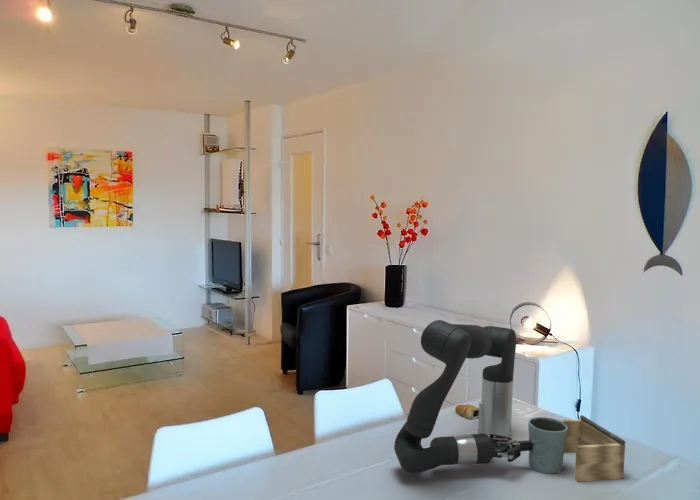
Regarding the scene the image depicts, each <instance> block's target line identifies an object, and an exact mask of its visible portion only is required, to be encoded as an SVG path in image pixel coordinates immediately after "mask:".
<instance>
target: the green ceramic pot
mask: <svg viewBox="0 0 700 500" xmlns="http://www.w3.org/2000/svg"><path fill="white" fill-rule="evenodd" d="M567 431H568V426H567V425H566V424H565V423H563V422H562V421H559V419H556V418H553V417H552V418H551V417H546V416H545V417H544V416H536V417H532V418H530V419H528V441H530V442H531V443H532V444H533V449H532V450H531V451H528V465H529V467H530V468H531V469H532V470H534V471H537V472H539V473H542V474H547V475H548V474H551V475H552V474H553V475H554V474H559V473H561V472H562V470H563V464H564V454H565V452H564V448H565V443H566V438H567Z"/></svg>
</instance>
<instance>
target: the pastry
mask: <svg viewBox="0 0 700 500" xmlns="http://www.w3.org/2000/svg"><path fill="white" fill-rule="evenodd" d="M454 409H455V411H456V413H457V414H458V415H459V416H461V417H462V418H464V419H466V420H469V421H471V420H476V419H479V407H477V406H475V405H471V404H458V405H456V406H455V408H454Z"/></svg>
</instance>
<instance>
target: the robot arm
mask: <svg viewBox="0 0 700 500" xmlns="http://www.w3.org/2000/svg"><path fill="white" fill-rule="evenodd" d="M420 346H421V348H422V350H423V351H424V353H426V354H427V355H429V356H431V357H433V358H434V359H436V360H438V361H440V362H441V363H443V364H445V367H444V369H443V371H442V372H441V374H440V375H439V377H438V378H436V379H435V380H434V381H433V382H432V383H429V384H428V385H427V386H426V387H425V388H423V389H422V390H421V391H419V392H418V394H417V395H416V396H415V397H414V399H413V401H412V403H411V406H410V409H409V413H408V414H407V418H406V421H405V423H404V424H403V425H402V427H401V429H399V432H398V433H397V435H396V437H395V440H394V446H393V448H394V452H395V456H396V457H397V460H398V463H399V465H400V467H401V468H402V470H403V471H405V472H407V473H410V474H421V473H425V472H427V471H430V470H433V469H436V468H438V467H441V466H451V465H452V466H453V465H454V466H456V465H459V466H467V465H468V466H470V465H484V464H489V463H491V461H492V460H493V458H495V459H496V458H497V459H501V458H503V457H504V458H506V459H507V462H509V463H512V462H514V461H516V459H518V458H519V457H521V455H522V452H529V451H531V450H532V449H533V444H532V443H531V442H530V441H529V440H518V439H517V440H516V439H513V438H512V437H510V436H511V434H512V416H513V415H512V414H513V389H514V374H515V373H514V372H515V360H516V359H515V358H516V349H517V334H516V332H515V329H513V328H510V327H509V328H508V327H500V326H493V325H490V326H489V325H488V326H480V325H476V324H458V323H456V324H454V323H449V322H447V321H444V320H442V319H436V320H433V321H432V322H430V323H429V324H428V325H427V326H426V327H425V328H424V329H423V331H422V334H421V336H420ZM485 356H487V357H494V358H500V359H501V360H500V362H499V363H498V364H494V365H488V366H485V367H484V368H483V369H482V377H481V378H482V380H481V381H482V382H481V401H479V405H478V408H479V418H478V425H477V426H478V427H477V429H478V431H477V432H478V433H468V434H458V435H457V434H456V435H453V436H452V435H451V436H438V437H434V438H433V439H431V440H430V443H429V444H430V445H429V446H428V447H423V446H422V439H427V438H429V437H430V436H431V435H432V433H433V430H434V428H435V425H436V422H437V420H438V417H439V414H440V411H441V409H442V406H443V404H444V402H445V399H446V398H447V396H448V395H449V392H450V390H451V389H452V387H453V384H454V383H455V381H456V379H457V377H458V375H459V374H460V371H461V369H462V366H463V365H464V363H465V361H466V359H481V358H483V357H485Z"/></svg>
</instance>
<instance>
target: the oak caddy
mask: <svg viewBox="0 0 700 500" xmlns="http://www.w3.org/2000/svg"><path fill="white" fill-rule="evenodd" d="M558 420H559V419H558ZM559 421H562V422H563V423H565V424H566V425H567V426H568V431H567V438H566V443H565V448H564V453H572V452H575V466H574V467H575V469H574V470H575V471H574V481H576V482H577V483H581V482H583V483H584V482H594V481H596V482H597V481H607V480H610V481H611V480H620V479H624V475H625V473H624V472H625V454H626V453H625V452H626V441H625V440H624V439H622V438H621V437H619V436H617V435H616V434H614V433H612V432H611V431H609V430H607V429H606V428H605V427H602V426H601V425H599V424H598V423H596V422H594V421H593V420H591V419H590V418H588V417H586V416H585V415H582V414H581V415H580V416H579V418H578V419H561V420H559Z"/></svg>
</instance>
